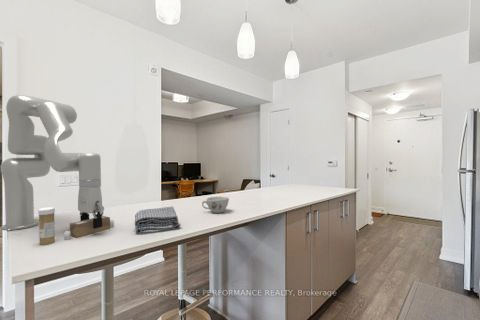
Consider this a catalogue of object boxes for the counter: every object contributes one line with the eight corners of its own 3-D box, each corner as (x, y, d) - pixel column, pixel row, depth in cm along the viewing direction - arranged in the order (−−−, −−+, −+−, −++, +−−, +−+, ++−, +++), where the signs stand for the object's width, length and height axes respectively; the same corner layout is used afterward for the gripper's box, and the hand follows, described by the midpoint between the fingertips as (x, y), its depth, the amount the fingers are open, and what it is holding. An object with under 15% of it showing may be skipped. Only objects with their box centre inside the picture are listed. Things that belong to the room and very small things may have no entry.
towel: (134, 226, 108) (134, 209, 108) (175, 221, 116) (175, 205, 116) (134, 236, 94) (134, 217, 94) (181, 230, 102) (180, 212, 102)
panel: (49, 237, 93) (49, 228, 93) (101, 224, 110) (101, 216, 110) (69, 245, 85) (69, 234, 85) (121, 229, 102) (121, 221, 102)
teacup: (226, 209, 140) (226, 195, 140) (231, 214, 128) (230, 199, 128) (201, 210, 136) (201, 196, 136) (203, 216, 124) (202, 200, 124)
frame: (69, 236, 92) (69, 223, 92) (103, 227, 103) (103, 215, 103) (76, 238, 89) (76, 224, 89) (110, 229, 100) (109, 217, 100)
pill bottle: (37, 245, 85) (36, 208, 84) (53, 242, 88) (52, 206, 88) (40, 248, 82) (39, 210, 81) (57, 244, 85) (56, 207, 85)
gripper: (69, 183, 97) (70, 225, 97) (92, 186, 88) (93, 231, 88) (88, 181, 103) (89, 220, 103) (111, 183, 94) (112, 226, 95)
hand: (91, 225), depth 96 cm, fingers open, 9 cm apart
